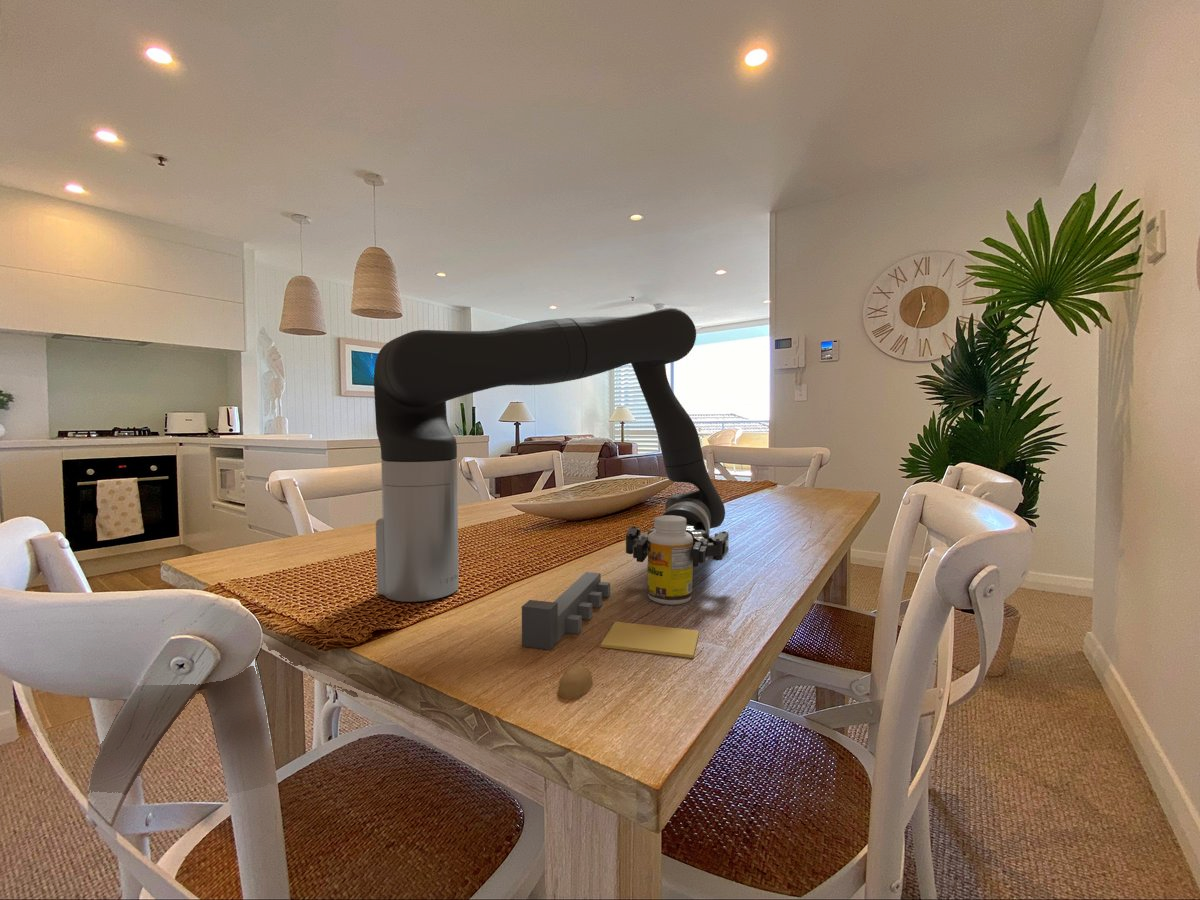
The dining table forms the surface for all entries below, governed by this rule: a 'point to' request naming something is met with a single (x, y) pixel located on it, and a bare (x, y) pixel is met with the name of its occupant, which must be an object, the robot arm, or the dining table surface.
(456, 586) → the robot arm
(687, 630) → the yellow sticky note
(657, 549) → the supplement bottle
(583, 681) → the potato
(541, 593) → the dining table surface
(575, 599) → the cable comb
